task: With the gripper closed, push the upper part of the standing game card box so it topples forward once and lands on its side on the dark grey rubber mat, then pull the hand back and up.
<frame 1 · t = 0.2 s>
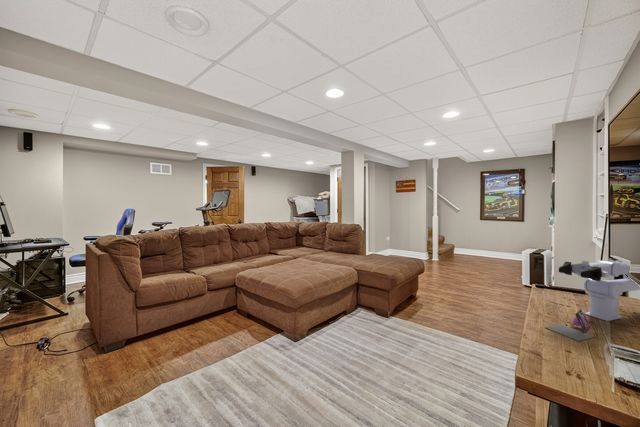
hand: (570, 272, 110), 21 cm above the table, tool horizontal, fingers open, 7 cm apart
game card: (579, 328, 106), on the table
mat: (569, 332, 103), on the table
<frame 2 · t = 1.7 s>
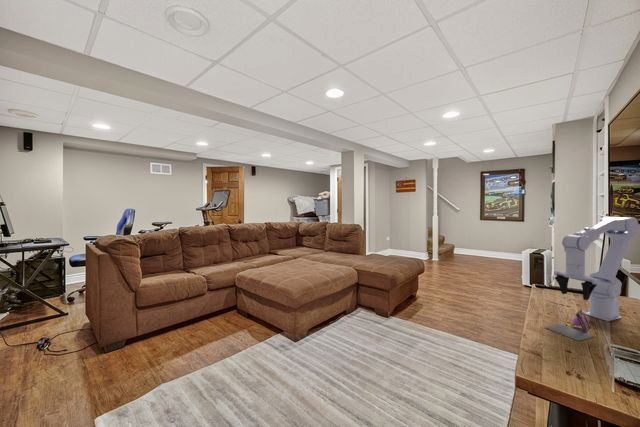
hand: (574, 296, 112), 10 cm above the table, tool pointing down, fingers open, 7 cm apart
nothing on the table moved.
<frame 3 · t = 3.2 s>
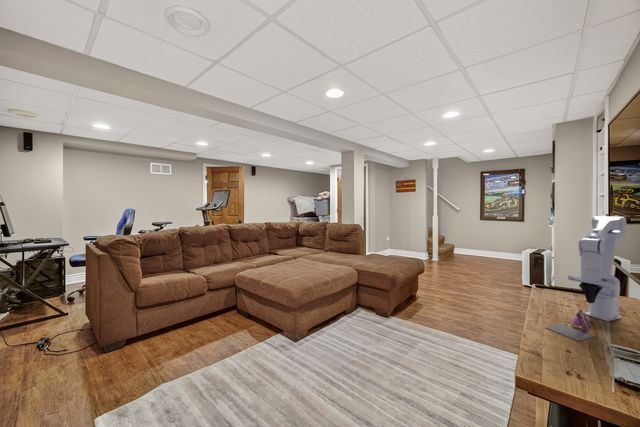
hand: (590, 302, 107), 9 cm above the table, tool pointing down, fingers closed
game card: (580, 328, 106), on the table, touching mat
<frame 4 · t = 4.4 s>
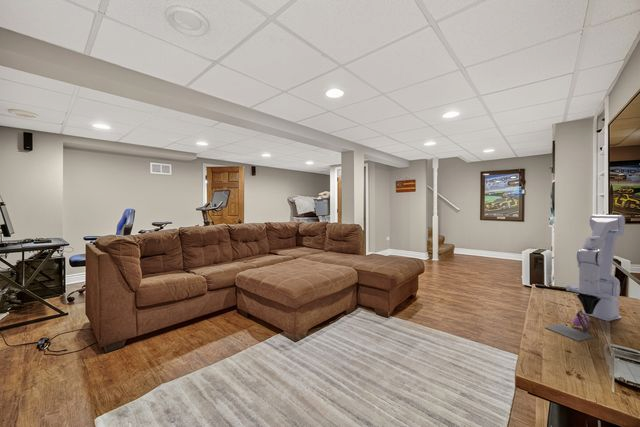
hand: (588, 313, 107), 5 cm above the table, tool pointing down, fingers closed
game card: (580, 328, 106), on the table, touching gripper, mat
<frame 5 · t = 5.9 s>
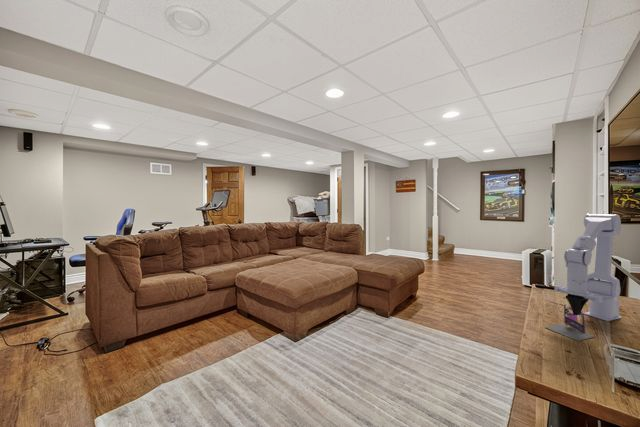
hand: (576, 314, 105), 6 cm above the table, tool pointing down, fingers closed
game card: (578, 324, 106), point 1 cm above the table, touching gripper, mat
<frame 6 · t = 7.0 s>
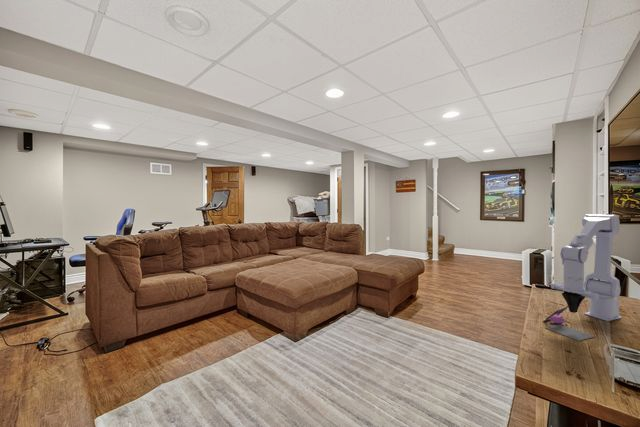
hand: (573, 311, 105), 7 cm above the table, tool pointing down, fingers closed
game card: (564, 317, 110), point 2 cm above the table, touching mat
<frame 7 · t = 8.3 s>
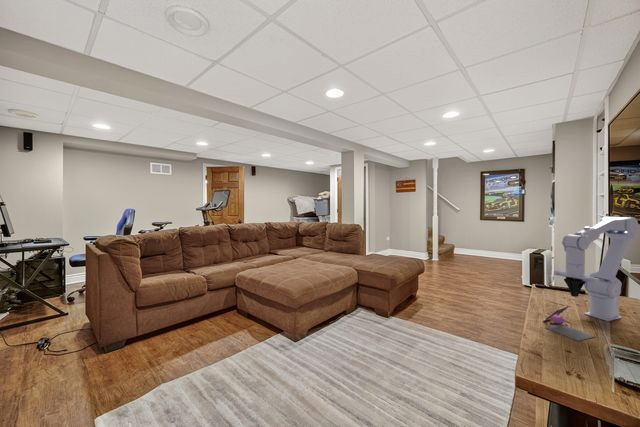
hand: (574, 296, 112), 10 cm above the table, tool pointing down, fingers closed
nothing on the table moved.
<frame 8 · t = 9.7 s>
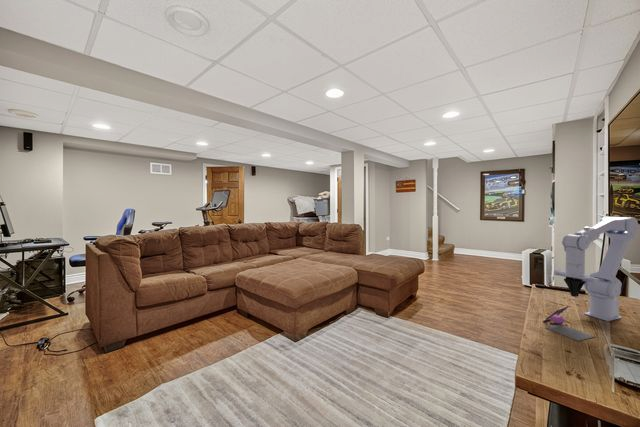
hand: (574, 296, 112), 10 cm above the table, tool pointing down, fingers closed
nothing on the table moved.
at the end: game card tilted 83°; game card inside the target area (6.1 cm from its centre), point 2.3 cm above the table; game card touching mat, table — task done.
